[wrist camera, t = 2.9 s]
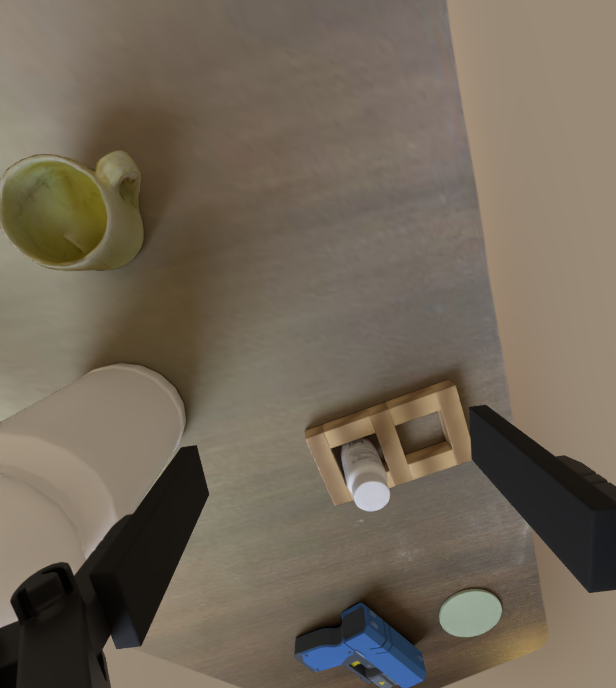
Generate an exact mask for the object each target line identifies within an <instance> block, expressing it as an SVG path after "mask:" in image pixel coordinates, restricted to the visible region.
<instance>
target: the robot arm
mask: <svg viewBox="0 0 616 688" xmlns="http://www.w3.org/2000/svg"><path fill="white" fill-rule="evenodd" d="M469 414H470V436H471V459H472V460H473V461H474V462H475V464H476V465H477V466H478V467H479V468H480V469H481V470H482V472H483V473H484V474H485V475H486V476H487V477H488V478H489V479H490V481H491V482H492V483H493V484H494V485H495V486H496V487H497V489H498V490H499V491H500V492H501V493H502V494H503V495H504V497H505V498H506V499H507V500H508V501H509V502H510V503H511V505H512V506H513V507H514V508H515V509H516V510H517V511H518V513H519V514H520V515H521V516H522V517H523V518H524V519H525V520H526V522H527V523H528V524H529V525H530V526H531V527H532V528H533V530H534V531H535V532H536V533H537V534H538V535H539V536H540V537H541V539H542V540H543V541H544V542H545V543H546V544H547V546H549V548H550V549H551V550H552V551H553V552H554V553H555V555H556V556H557V557H558V558H559V559H560V560H561V561H562V562H563V564H564V565H565V566H566V567H567V568H568V569H569V570H570V571H571V573H572V574H573V575H574V576H575V577H576V579H578V581H579V582H580V583H581V584H582V585H583V587H584V588H585V589H586V590H587V591H588V592H589V593H593V592H601V591H610V590H616V486H614V485H613V484H612V483H608V482H607V480H606V479H604V478H603V477H602V476H600V475H598V474H596V472H594V471H593V470H591V469H590V468H589V467H587V466H586V465H584V464H583V463H581V462H579V461H576V460H574V459H572V458H569V457H567V456H557V457H555V456H554V455H553V454H551V453H550V452H549V451H547V450H546V449H544V448H543V447H542V446H540V445H539V444H538V443H536V442H535V441H534V440H532V439H531V438H529V437H528V436H527V435H526V434H524V433H523V432H522V431H520V430H519V429H517V428H516V427H515V426H513V425H512V424H511V423H509V422H508V421H507V420H505V419H504V418H503V417H501V416H500V415H499V414H497V413H496V412H495V411H493V410H492V409H491V408H489V407H488V406H487V405H481V406H473V407H469ZM208 496H209V492H208V488H207V484H206V480H205V476H204V472H203V468H202V464H201V460H200V456H199V452H198V448H197V445H195V446H187V447H181V448H180V450H179V451H178V453H177V454H176V455H175V457H174V458H173V459H172V461H171V462H170V464H169V465H168V466H167V468H166V469H165V470H164V472H163V473H162V475H161V476H160V477H159V479H158V480H157V481H156V483H155V484H154V486H153V487H152V488H151V490H150V491H149V492H148V494H147V495H146V497H145V498H144V499H143V501H142V502H141V503H140V505H139V506H138V508H137V509H136V510H135V512H134V513H133V514H129V515H125V516H124V517H123V518H121V519H120V520H119V521H118V522H117V523H115V524H114V525H113V526H112V527H111V529H110V530H109V531H108V532H107V534H106V535H105V536H104V538H103V540H101V541H100V543H99V544H98V545H97V547H96V548H95V550H94V551H93V552H92V553H91V554H90V556H89V557H88V558H87V560H86V561H85V562H84V563H83V565H82V566H81V567H80V569H79V570H78V571H77V573H76V574H75V575H73V572H72V569H71V567H70V565H69V564H68V563H65V562H59V563H54V564H51V565H49V566H47V567H44V568H42V569H41V570H39V571H37V572H36V573H34V574H33V575H31V576H30V577H29V578H27V579H26V580H25V581H24V582H23V583H22V584H20V586H19V587H18V588H17V589H16V591H15V592H14V593H13V595H12V597H11V600H10V603H11V605H12V607H13V609H14V612H15V614H16V616H17V618H18V621H16V622H13V623H11V624H8V625H6V626H3V627H1V628H0V688H111V686H110V680H109V675H108V669H107V663H106V658H105V655H104V652H103V650H102V649H103V647H104V645H105V644H106V642H107V640H108V638H109V636H110V635H111V636H112V639H113V642H114V644H115V647H116V649H122V648H130V647H138V646H141V645H142V643H143V641H144V639H145V637H146V634H147V632H148V630H149V628H150V625H151V623H152V621H153V619H154V616H155V614H156V612H157V610H158V607H159V605H160V603H161V601H162V599H163V596H164V594H165V592H166V590H167V587H168V585H169V583H170V581H171V578H172V576H173V574H174V572H175V569H176V567H177V565H178V563H179V561H180V558H181V556H182V554H183V552H184V549H185V547H186V545H187V543H188V540H189V538H190V536H191V534H192V531H193V529H194V527H195V525H196V523H197V520H198V518H199V516H200V514H201V511H202V509H203V507H204V505H205V502H206V500H207V498H208Z"/></svg>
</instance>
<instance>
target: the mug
mask: <svg viewBox="0 0 616 688" xmlns="http://www.w3.org/2000/svg"><path fill="white" fill-rule="evenodd" d="M140 182H141V173H140V171H139V169H138V167H137V166H136V164H135V162H134V161H133V160H132V158H131V157H130V156H129V155H128V154H127V153H126V152H124V151H121V150H119V151H113V152H111V153H109V154H107V155H105V156H103V157H102V158H101V159H100V160H98V161H97V164H96V168H95V170H91V169H89V168H87V167H86V166H84V165H82V164H80V163H79V162H77V161H75V160H72V159H70V158H67V157H62V156H58V155H52V154H40V155H33V156H31V157H28V158H25V159H22V160H20V161H18V162H17V163H15V164H14V165H12V166H11V167H9V168H8V169H7V170H6V172H5V174H4V175H3V177H2V178H1V179H0V227H1V228H2V230H3V232H4V234H5V236H6V237H7V238H8V239H9V241H10V242H11V244H12V245H13V246H15V247H16V248H17V249H18V250H19V252H20V253H21V254H22V255H23V256H25V257H26V258H28V259H30V260H32V261H34V262H36V263H37V264H39V265H41V266H43V267H46V268H49V269H55V270H64V271H83V270H97V271H104V270H112V269H116V268H119V267H122V266H124V265H126V264H127V263H129V262H130V261H131V260H133V259H134V257H135V256H136V255H137V254H138V252H139V251H140V249H141V246H142V244H143V240H144V228H143V222H142V218H141V215H140V212H139V203H138V195H139V194H140V188H141V186H140Z"/></svg>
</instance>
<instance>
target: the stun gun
mask: <svg viewBox="0 0 616 688" xmlns="http://www.w3.org/2000/svg"><path fill="white" fill-rule="evenodd" d="M341 618H342V625H341V626H340V627H339V628H334V629H332V628H324V629H320V630H317V631H314V632H311V633H309V634H306V635H303V636H301V637H298V638H296V640H295V654H294V657H295V658H296V659H297V660H298V661H299V662H301V663H302V664H303V665H304V666H306V667H307V668H308V669H309V670H311V671H312V672H317V671H321V670H325V669H328V668H332V667H335V666H339V665H341V664H342V665H343V666H344V667H345V668H348V669H350V670H351V671H352V672H354V673H355V674H356V675H358V676H359V677H360V679H361V680H362V681H364V682H365V683H368V684H372V683H375V684H376V685H377V686H379V687H380V688H390V687H392V686H393V685H394V684H396V685H397V684H398V685H400V686H401V687H402V688H408V687H410V686H413V685H415V684H417V683H420V682H422V681H424V678H425V675H426V670H425V665H424V661H423V660H424V659H423V657H422V653H421V652H420V651H419V650H418V649H417V648H416V647H414V646H413V645H412V644H411V643H410V642H408V641H407V640H406V639H405V638H404V637H402V636H401V635H400V634H399V633H398V632H397V631H395V630H394V629H393V628H392V627H391V626H389V625H388V624H387V623H386V622H385V621H383V620H382V619H381V618H380V617H379V616H377V615H376V614H375V613H374V612H373V611H371V610H370V609H369V608H368V607H367V606H365V605H364V604H363V603H359V604H357V605H355V606H353V607H351V608H350V609H348V610H346V611H344V612H343V613H342V615H341Z"/></svg>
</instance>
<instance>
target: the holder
mask: <svg viewBox="0 0 616 688" xmlns="http://www.w3.org/2000/svg"><path fill="white" fill-rule="evenodd" d="M436 411H437V412H438V416H439V419H440V422H441V425H442V429H443V432H444V435H445V439H446V441H445V442H442V443H439V444H436V445H433V446H430V447H427V448H424V449H421V450H418V451H415V452H413V453H410V454H407V455H405V454H404V452H403V449H402V446H401V443H400V440H399V437H398V434H397V431H396V429H395V426H396V425H399V424H402V423H405V422H407V421H410V420H413V419H416V418H419V417H422V416H424V415H427V414H430V413H433V412H436ZM394 425H395V426H394ZM373 433H375V434H376V437H377V439H378V442H379V445H380V447H381V450H382V453H383V456H384V458H385V461H386V462H383V463H382V465H383V467H384V470H385V472H386V475H387V485H388V488H391V487H394V486H396V485H399V484H402V483H405V482H408V481H411V480H413V479H417V478H420V477H423V476H426V475H429V474H432V473H435V472H437V471H440V470H443V469H446V468H449V467H452V466H455V465H458V464H461V463H464V462H467V461H470V460H472V459H471V439H470V435H469V431H468V428H467V424H466V421H465V417H464V413H463V410H462V406H461V402H460V399H459V395H458V392H457V388H456V385H455V384H453V383H452V382H451V381H450V380H445V381H442V382H440V383H437V384H434V385H431V386H429V387H426V388H423V389H420V390H417V391H415V392H412V393H409V394H406V395H404V396H401V397H398V398H395V399H392V400H390V401H387V402H385V403H381V404H379V405H376V406H373V407H370V408H367V409H364V410H362V411H359V412H356V413H353V414H350V415H348V416H345V417H342V418H339V419H336V420H334V421H331V422H328V423H325V424H323V425H320V426H317V427H314V428H312V429H309V430H306V431H305V440H306V442H307V444H308V447H309V449H310V451H311V453H312V456H313V458H314V460H315V463H316V465H317V467H318V469H319V472H320V474H321V476H322V478H323V481H324V483H325V485H326V488H327V490H328V492H329V494H330V497H331V499H332V501H333V503H334V506H337V505H340V504H343V503H346V502H349V501H352V500H354V498H353V495H352V493H351V492H350V490H349V488H348V486H347V482H346V477H345V476H344V475H343V472H342V470H341V467H340V465H339V463H338V460H337V458H336V455H335V453H334V451H333V448H334V447H336V446H339V445H342V444H345V443H348V442H351V441H354V440H356V439H359V438H362V437H365V436H368V435H371V434H373Z"/></svg>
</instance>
